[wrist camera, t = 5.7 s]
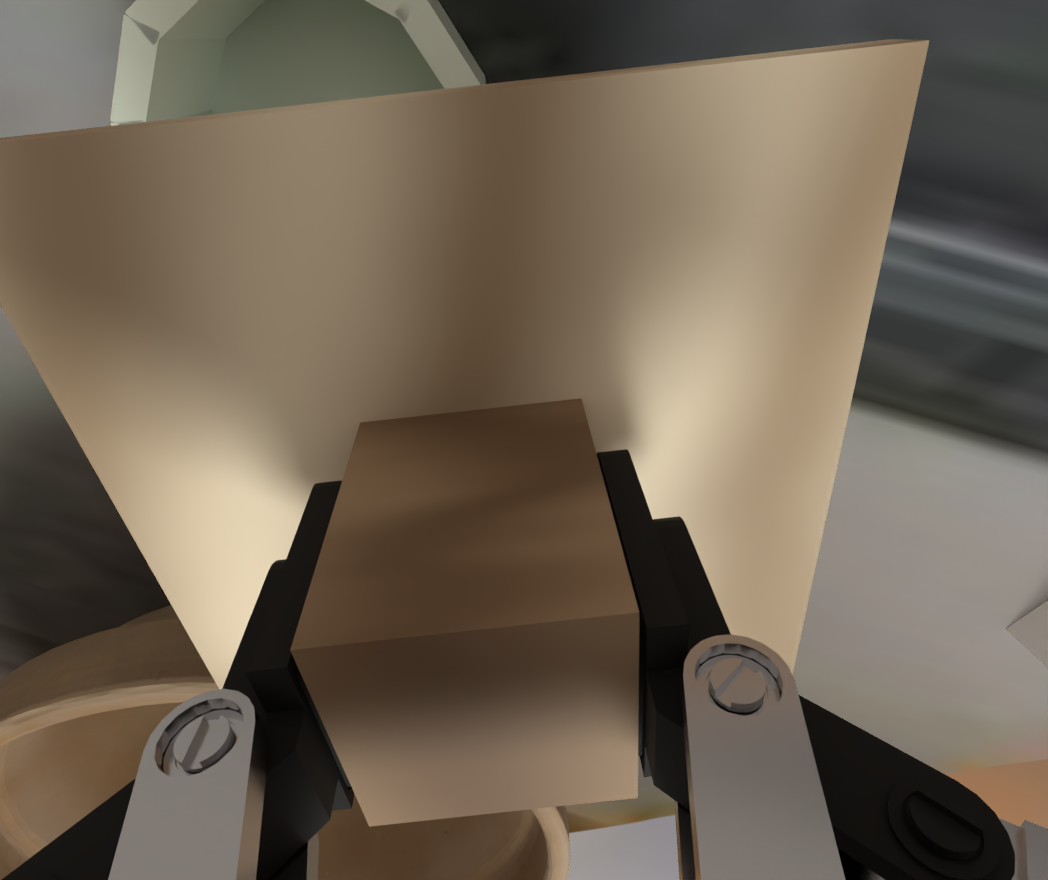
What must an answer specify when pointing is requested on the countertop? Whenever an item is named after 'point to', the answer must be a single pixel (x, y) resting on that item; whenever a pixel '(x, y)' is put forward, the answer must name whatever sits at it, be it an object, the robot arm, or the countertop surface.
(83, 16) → the countertop surface
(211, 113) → the bowl
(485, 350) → the lid
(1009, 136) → the countertop surface
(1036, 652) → the grater
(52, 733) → the flower pot
